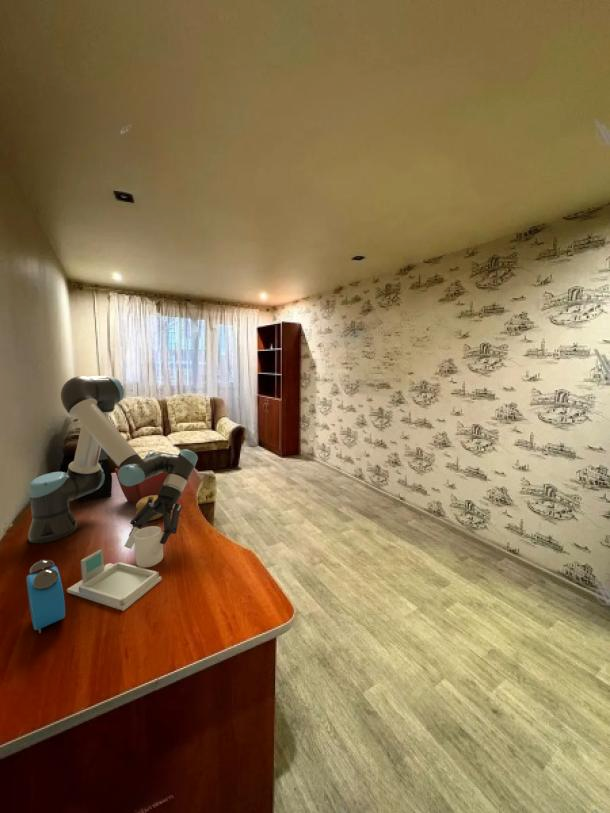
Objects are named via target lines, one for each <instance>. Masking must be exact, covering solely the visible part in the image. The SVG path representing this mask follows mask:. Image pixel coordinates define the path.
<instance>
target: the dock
mask: <svg viewBox="0 0 610 813" xmlns="http://www.w3.org/2000/svg"><path fill="white" fill-rule="evenodd" d="M103 552H104V551H103V549H98V550H96V551H94V552H93V553H91V554H89V555H88V556H86V557H84V558H82V559H80V567H81V569H80V570H81V577H82V579H81V580H79V581H78V582H76V583H74V584H73V585H71V586H70V587H68V588H66V592H67V593H68V594H71V595H74V596H76V597H80V598H83V599H86V600H89V601H92V602H95V603H98V604H101V605H104V606H107V607H111V608H114V609H116V610H121V611H122V612H124V611H125V610H127V609H128V608H129V607H130V606H132V605H133V604H134V603H135V602H136V601H138V600H139V599H140V598H141V597H142V596H144V595H145V594H146V593H147V592H149V591H150V590H152V589H153V587H155V586H156V585H157V584H158V583H160V582H161V581H162V579H163V578H162V576H160V574H159V573H160V572H159V571H156V570H151V569H147V568H143V567H139V566H138V565H134V564H133V565H132V564H129V563H125V562H121V561H117V562H115V563H111V562H109V563H106V564H104V553H103Z"/></svg>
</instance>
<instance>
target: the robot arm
mask: <svg viewBox="0 0 610 813" xmlns="http://www.w3.org/2000/svg"><path fill="white" fill-rule="evenodd" d="M124 396H125V390H124V386H123V385H122V383H121V381H120V380H119V379H118V378H116V377H114V376H110V375H94V376H93V375H91V376H90V375H89V376H88V375H87V376H85V375H83V376H82V375H81V376H80V375H79V376H75V377H72V378H70V379H68V380H67V381H65V383H64V384H63V385H62V388H61V390H60V400H61V404H62V406H63V407H64V409H65V410H66V413H68V415H69V416H71V417H72V418H76V419H77V420H78V422H80V424H81V425H80V430H79V436H78V439H77V440H78V441H77V445H76V450H75V451H76V454H75V453H74V458H75V459H74V458H73V461H71V462H70V463H69V464H68V466H67V467H68V468H67V471H66V472H65V471H64V472H63V471H54V472H50V473H45V474H42V475H40V476H37V477H36V478H34V479H32V480H31V481H30V483H29V485H28V496H29V501H30V511H31V518H32V520H31V523H30V526H29V530H28V534H27V537H28V538H27V539H28V541H29V543H31V544H45V543H50V542H54V541H58V540H60V539H61V540H62V539H63V538H65V537H68V536H70V535H71V534H73V533H74V532H75V531H76V530H78V524H77V523H78V522H77V520H76V518H75V516H74V515H73V514H72V511H71V508H70V507H71V506H70V502H71V501H74V500H77V498H79V497H81V496H84V495H86V494H89V493H92V492H94V491H95V490H97V489H99V488H100V487H101V486H102V484H103V482H104V479H105V474H103V472H104V471H103V469H102V468H101V465H100V464H99V463H98V460H99V455H100V451H101V447H102V448H103V450H104V451H105V452H106V454H107V457H109V458H110V459H111V460H112V461H113V463H114V464H115V465H116V466H117V468H119V471H118V477H119V481H120V482H121V484H123V485H125V486H133V485H136V484H139V483H141V482H143V481H145V480H147V479H149V478H151V477H153V476H155V475H158V474H160V473H169V474H168V476H167V478H166V479H165V481H164V483H163V485H164V486H162V487H161V489H160V491H159V493H158V498H157V499H156V500H155V501H153V500H151V499H149V500H148V501H147V503H146V505H145V506H144V507H143V508H142V509H141V511H140V512H139V513H138V514H136V515H135V516H134V517H133V518H132V520H131V521H130V524H131V526H132V528H131V530H130V532H129V535H128V538H127V539H126V541H125V543H124V547H125V548H127V549H130V550H131V549H132V548H133V547H134V545H135V544H134V534H135V532H137V531H138V530H140V529H142V527H143V526H145V524H146V523H147V522H150V521H149V520H150V519H151V518H152V517H153V516H155V515H157V514H163V515H162V517H163V530H162V532H161V534H160V536H159V538H158V540H157V542H156V544H155V546H154V548H153V551H152V553H154V554H156V555H159V553H160V551H161V549H162V546H163V547H164V546H165V545H166V544H167V541H168V539H169V538H170V536H171V535H174V534H176V533H177V532H178V526H179V518H180V513H181V510H182V508H183V506H182V505H181V504H179V503H178V502H179V500H180V498H181V495H182V492H184V489H185V487H186V485H187V483H188V481H189V479H190V476H191V474H192V472H193V470H194V469H195V467H196V464H197V463H198V462H197V461H198V459H199V457H198V454H196V453H195V452H194V451H192V450H190V449H186V448H185V449H181V450H180V452H179V453H178V454H175V453H174V454H172V453H168V452H163V451H156V450H155V451H149V452H148V453H147V454H146V455H145V458H142V457H141V456H140V455H139V453H137V451H135V449H134V448H133V447H132V445H131V444H130V443H129V442H128V441H127V440H126V439H125V437H124V435H122V434H121V432H120V431H119V430H118V429H117V427H116V426H115V425H114V424H113V423H112V421H111V420H110V419H109V415H110V414H111V413H113V412H114V410H115V407H116V404H119V403H121V401H122V400H123V399H124ZM119 481H118V482H119Z"/></svg>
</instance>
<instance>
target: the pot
mask: <svg viewBox="0 0 610 813" xmlns="http://www.w3.org/2000/svg"><path fill="white" fill-rule="evenodd" d="M157 498H158V495H151V496H147V497H144V498H142V499H141V500H139V501H138V503H137V504H135V508H136V509H137V510H136V512H135V513H136V515H137V514H138V513H139V512H140V511H141V509H142V508H143V507H144V506H145V505H146V503H147V501H148V500H149V499H151V500H153V501H155V500H156V499H157ZM161 517H163V514H157V515H155V516H153V517H152V518H151V519H150V520H149V521H148V522H151V521H154V520H157V519H159V518H161Z"/></svg>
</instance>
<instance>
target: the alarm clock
mask: <svg viewBox="0 0 610 813" xmlns="http://www.w3.org/2000/svg"><path fill="white" fill-rule="evenodd" d="M26 586H27V588H26V589H27V595H28V596H27V597H28V603H29V609H30V616H31V622H32V626H33V629H34V631H38V633H39V634H41V633H42V629H43V628H45V627H47V626H50V625H53V624H54V623H57V622H59V621H61V620H63V619H64V618H65V616H66V602H65V601H66V597H65V594H64V589H63V588H64V587H63V584H62V579H61V573H60V571H59V569H58V567H57V566H56V565H55V562H54V561H53V560H51V559H40V560H39V561H37V562H35V563H33V565H32V566H31V567H30V568H29V574H28V575H26Z"/></svg>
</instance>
